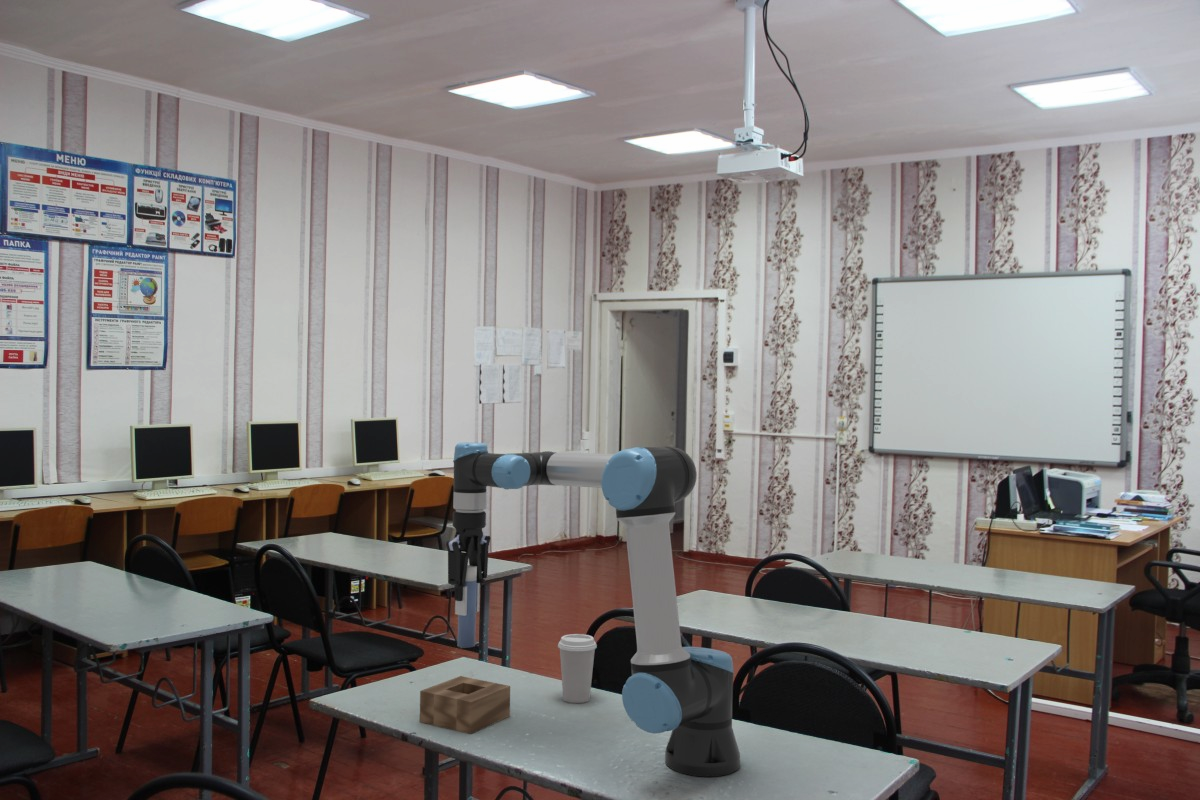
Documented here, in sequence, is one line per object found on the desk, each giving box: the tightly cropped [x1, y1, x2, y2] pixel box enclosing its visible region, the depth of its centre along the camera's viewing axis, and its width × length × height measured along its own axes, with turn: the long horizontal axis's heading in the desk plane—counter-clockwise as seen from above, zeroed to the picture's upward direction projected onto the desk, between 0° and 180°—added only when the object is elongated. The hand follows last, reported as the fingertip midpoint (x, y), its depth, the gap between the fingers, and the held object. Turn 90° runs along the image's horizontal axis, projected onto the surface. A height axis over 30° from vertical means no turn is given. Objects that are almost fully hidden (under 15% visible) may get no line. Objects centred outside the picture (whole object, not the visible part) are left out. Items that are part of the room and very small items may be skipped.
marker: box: [457, 564, 477, 649], centre depth 228 cm, size 4×4×18 cm
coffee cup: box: [557, 633, 598, 704], centre depth 244 cm, size 10×10×15 cm
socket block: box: [419, 675, 511, 735], centre depth 228 cm, size 14×14×7 cm
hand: (467, 612), depth 228 cm, fingers closed on marker, 4 cm apart
